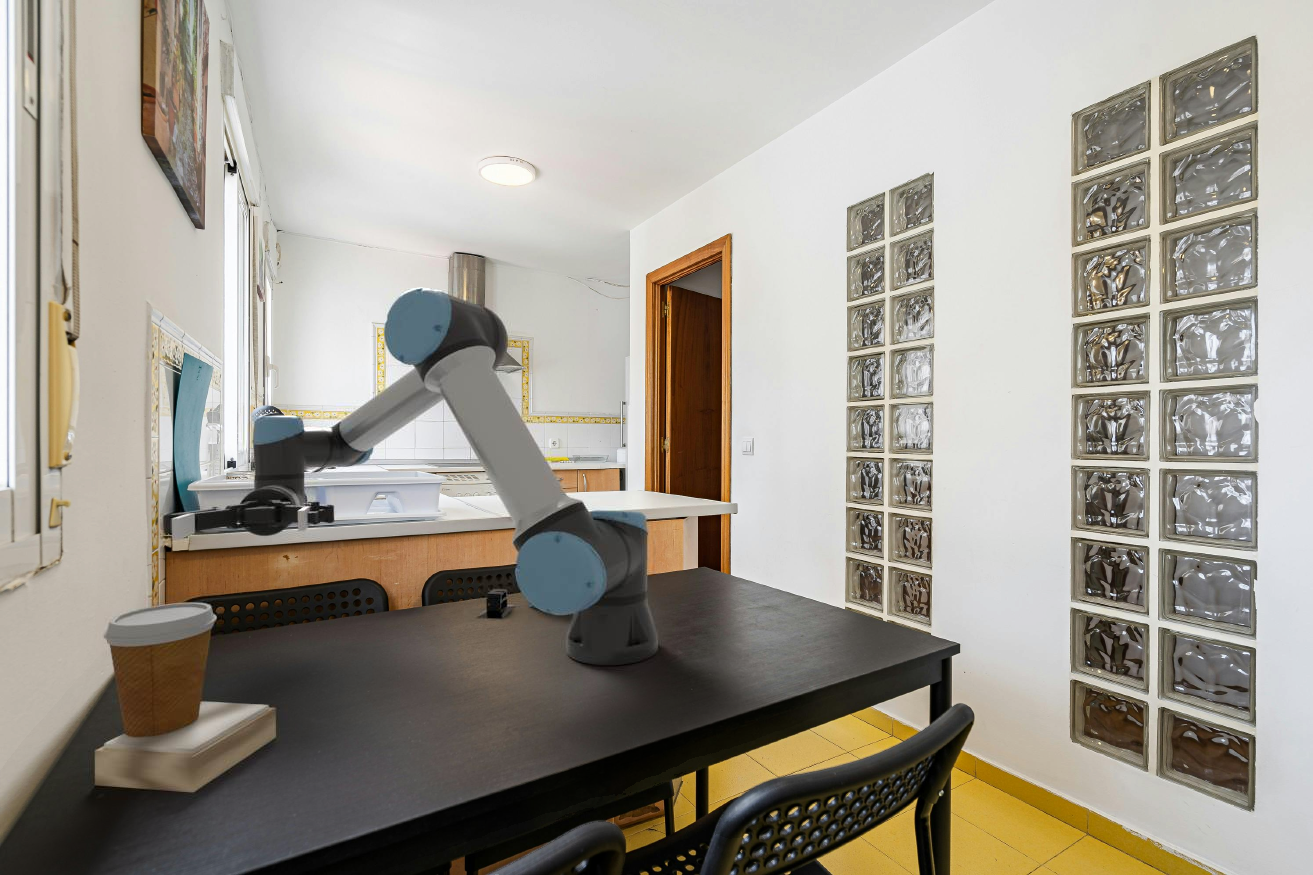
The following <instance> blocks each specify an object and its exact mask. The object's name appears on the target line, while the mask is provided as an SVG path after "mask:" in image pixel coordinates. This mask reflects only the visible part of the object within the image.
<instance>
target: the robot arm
mask: <svg viewBox="0 0 1313 875" xmlns="http://www.w3.org/2000/svg"><path fill="white" fill-rule="evenodd" d="M383 330H384V332H383V333H384V334H383V336H384V342H385V346H386V348H387V350H388V352H389V353H390V355H391V356H392V357H393V358H394V359H395V360H397V361H399V362H401V363H402V364H404V365H408V366H413V369H411V370H410V371H408V372H407V373H405V375H402V377H400V378H399V379H397V380H396V381H394V382H393V383H392V384H390V385H389V386H388V387H386V388H385V389H383V390H381V391H380V392H379V393H378V394H376V395H375V396H373V397H372V398H371V399H370V400H368V401H367V402H366V403H364V404H363V405H362V406H359V407H358V408H357V409H356V410H354V411H353V412H352V413H350V414H349V415H348V416H346V417H345V418H344V419H343V418H342V419H341V421H338V423H336V424H334V425H332V426H331V427H311V426H309V427H307V426H304V421H303V418H302V417H300V416H296V415H295V416H294V415H263V416H260V417H257V418H256V419H255V420H254V421H253V422H254V423H253V429H252V430H253V431H252V444H253V445H252V446H253V462H254V466H253V467H254V480H253V484H254V485H253V486H254V489H253V491H251V492H250V493H248V494H247V495H245V496H244V497H243V498H242V499H241V502H240V503H239V504H229V505H227V506H226V507H225V508H224V509H222V508H221V507H217V506H212V507H211V508H204V509H199V510H198V509H197V510H192V511H185V512H177V513H166V514H164V515H163V534H165V535H171V541H180V540H182V539H183V540H184V539H188V538H189V536H192V535H194V534H196V532H200V531H201V532H202V531H206V530H213V529H220V528H226V529H228V530H237V529H244V530H246V531H247V532H248V533H251V534H252V535H255V536H259V537H260V536H261V537H268V536H269V537H270V536H274V535H277V534H279V533H281V532H283V531H284V530H285V529H287V528H288V527H289V526H291V525H292V524H297V528H298V529H297V531H298V532H305V531H306V530H307V529H308V528H309V527H311V525H315V526H316V525H319V524H321V523H327V524H332V523H334V522H335V505H333V504H323V503H320V501H319V500H317V501H308V496H307V494H306V491H305V469H309V468H310V469H311V468H313V469H314V468H331V467H332V468H333V467H334V468H335V467H345V468H346V467H347V468H349V467H353V466H358V465H362V464H365V463H366V462H368V460H369V459H370V458H371V455H372V454H373V451H374V447H375V446H376V445H379V444H380V443H381V442H383V441H385V440H386V439H387V438H389V437H390V436H391V435H394V434H395V433H396V432H398V431H399V430H400V429H403V427H405V426H406V425H408V424H409V423H411V422H412V421H414V420H415V419H417V418H419V416H421V415H423V414H424V413H425V412H427V411H429V410H430V409H431V408H433V407H434V406H437V404H439V403H441V402H442V401H443V400H444V401H445V403H446V404H447V406H448V407H449V410H450V412H451V413H452V415H453V417H454V419H455V421H456V422H457V424H458V426H459V427H460V429H461V431H462V434H464V437H465V438H466V441H467V442H468V444H469V445H470V448H471V449H472V451H473V452H474V454H475V456H476V458H477V460H478V461H479V463H480V465H481V467H482V469H483V470H484V472H485V473H486V476H487V478H488V479H489V481H490V483H491V484H492V486H493V488H494V490H495V491H496V494H497V495H498V497H499V499H500V500H501V502H502V505H503V506H504V508H505V509H506V511H507V513H508V515H509V516H510V519H511V520H512V522H513V523H514V526H515V527H514V528H515V530H514V533H513V536H512V539H511V542H512V545H513V546H514V548H515V550H516V551H517V556H516V560H515V564H516V568H515V570H514V573H515V579H516V583H517V586H518V588H519V590H520V592H521V594H522V595H523V596H524V598H526V600H527V601H528V602H530V603H531V604H532V605H533V606H535V607H536V608H535V609H537V608H538V610H539V611H542V612H544V613H547V614H550V615H554V616H568V615H571V614H572V618H571V620H570V623H569V627H568V630H567V634H566V638H565V652H566V655H568V657H570V658H571V659H573V660H575V661H577V662H581V663H584V664H590V665H596V666H597V665H598V666H619V665H627V664H632V663H633V664H634V663H638V662H641V661H644V660H646V659H649V658H651V657H652V656H654V655H655V654H656V653H657V652H658V650H659V645H658V644H659V643H658V642H659V639H658V637H659V636H658V631H657V629H656V625H655V623H654V620H653V619H654V618H653V616H652V612H651V609H650V607H649V604H648V535H649V531H648V525H647V524H648V523H647V518H646V515H645V514H644V513H642V512H641V511H627V510H622V511H621V510H603V509H588V508H587V506H586V505H585V503H584V501H583V500H582V499H577V498H574V497H570V496H569V495H567V493H566V491H565V490H564V488H563V486H562V485H561V483H560V481H559V480H558V478H557V476H556V474H555V473H554V471H553V470H552V469H553V468H552V467H551V466H550V464H549V463H548V461H547V458H546V457H545V455H544V453H543V451H542V450H541V449H540V447H539V446H538V444H537V442H536V440H535V439H534V437H533V435H532V433H531V432H530V430H529V428H528V426H527V425H526V423H525V421H524V420H523V418H522V416H521V414H520V413H519V411H518V408H516V406H515V404H514V402H513V401H512V399H511V397H510V396H509V393H508V392H507V390H506V389H505V387H504V385H503V383H502V382H501V380H500V378H499V377H498V375H497V373H496V372H495V371H496V370H497V369H498V368H499V367H500V365H501V364H502V363H503V361H504V359H505V357H506V355H507V351H508V347H509V336H508V332H507V328H506V326H505V324H504V323H503V321H502V319H501V318H500V317H499V315H497V313H495V312H494V311H492V309H490V308H488V307H486V306H483V305H481V304H477V303H474V302H471V301H468V300H465V299H462V298H459V297H457V296H454V295H451V294H449V293H446V292H443V291H442V290H441V289H440V290H438V289H430V288H428V287H427V288H426V287H416V288H412V289H409V290H407V291H405V292H403V293H402V294H401V295H400V296H398V298H396V299H395V301H394V302H393V304H392V305H391V307H390V309H389V310H388V313H387V316H386V322H385V323H384V328H383Z"/></svg>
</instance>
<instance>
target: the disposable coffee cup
mask: <svg viewBox="0 0 1313 875" xmlns="http://www.w3.org/2000/svg"><path fill="white" fill-rule="evenodd" d="M217 620H218V619H217V615H216V614H214V613H213V607H212V606H211V604H208V603H204V602H177V603H176V602H175V603H168V604H167V603H166V604H160V605H152V606H148V607H141V608H138V609H134V610H130V611H127V612H124V613H121V614H118V615H116V616H114V617H112V618H110V619H109V623H108V627H107V630H105V631H104V633H103V638H104V639H105V640H106V643H107V644H108V645H109V649H110V655H111V659H112V660H111V661H112V666H113V671H114V672H113V673H114V678H115V683H116V684H115V685H116V691H117V695H118V701H119V708H120V712H121V714H120V715H121V718H122V719H121V720H122V725H123V730H124V733H125V734H126V735H128V736H131V737H148V736H154V735H159V734H164V733H167V732H171V731H174V730H177V729H179V728H182V727H184V726H186V725H188V724H190V723H192V722H193V721H195V720H196V719H197V718H198V716H199V710H200V704H201V701H202V696H203V689H204V682H205V676H206V667H207V662H208V661H207V660H208V656H209V648H210V640H211V635H212V634H211V633H212V628H213V627H214V624H215V622H216V621H217ZM124 733H123V734H124Z"/></svg>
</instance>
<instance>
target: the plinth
mask: <svg viewBox="0 0 1313 875" xmlns="http://www.w3.org/2000/svg"><path fill="white" fill-rule="evenodd" d="M276 716H277V707H271V706H269V704H259V703H258V704H254V703H252V704H251V703H236V702H235V703H234V702H218V701H204V700H203V701H202V700H201V704H200V710H199V716H198V718H197V719H196V720H195V721H193V722H192V723H190V724H188V725H186V726H184V727H182V728H179V729H177V730H174V731H171V732H167V733H164V734H159V735H154V736H148V737H131V736H128V735H126V734H125V733H123V734H121V735H119V736H116V737H114V738H112V739H110V740H108V741H106V742H105V743H103V746H101V747H99V748H97V749H95V750H94V786H101V787H116V788H127V789H128V788H130V789H142V790H143V789H144V790H157V791H166V792H167V791H168V792H169V791H171V792H182V793H183V792H184V793H195V792H196V791H198V790H200V789H201V788H203V786H205V785H206V784H209V783H210V782H211V781H213V780H214V779H216V778H218V777H219V776H220V775H222V774H223V773H225V772H226V771H229V769H231V768H232V767H234V766H235V765H237V764H239V763H241V761H243V760H244V759H246V758H247V757H249V756H251V755H252V754H254V753H255V752H256V751H258V750H260V749H261V748H263V747H264V746H265V745H268V744H269V743H270V742H272V741H273V740H274V739H277V731H276V730H277V729H276V728H277V726H276V724H277V723H276V722H277V717H276Z"/></svg>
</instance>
